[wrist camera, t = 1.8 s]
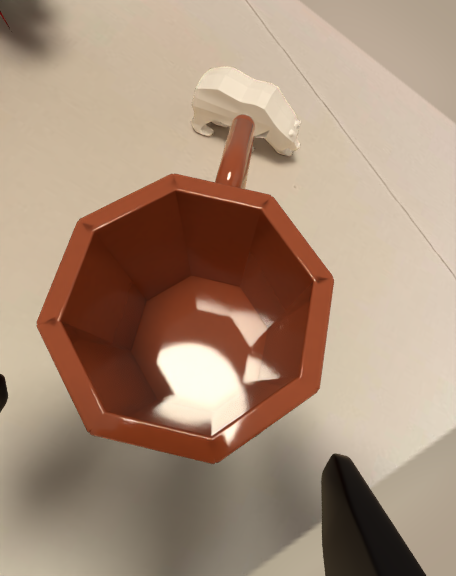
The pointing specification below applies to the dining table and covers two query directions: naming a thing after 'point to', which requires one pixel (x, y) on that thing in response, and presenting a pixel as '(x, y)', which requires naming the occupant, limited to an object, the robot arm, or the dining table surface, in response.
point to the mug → (189, 313)
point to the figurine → (245, 107)
